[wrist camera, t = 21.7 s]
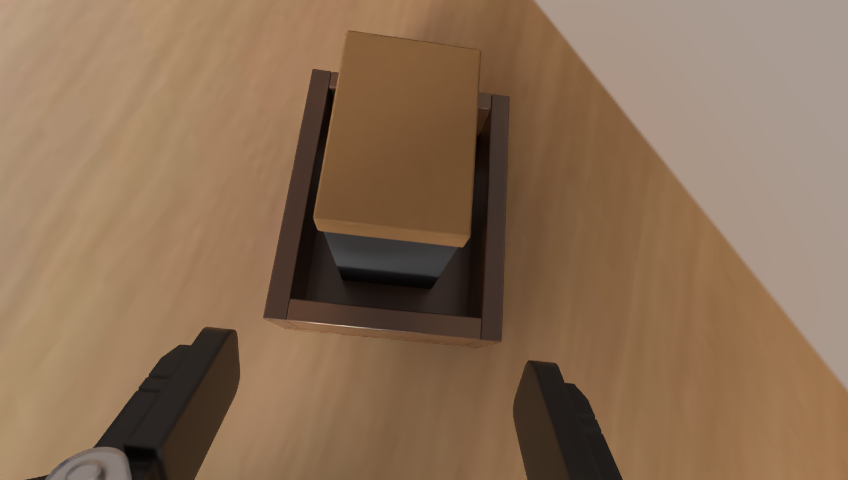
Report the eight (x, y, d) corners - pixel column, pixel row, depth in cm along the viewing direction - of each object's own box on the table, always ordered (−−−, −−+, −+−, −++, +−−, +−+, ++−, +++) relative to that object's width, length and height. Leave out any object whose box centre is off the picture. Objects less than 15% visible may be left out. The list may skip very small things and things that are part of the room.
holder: (489, 138, 22) (509, 95, 19) (480, 347, 19) (502, 342, 16) (322, 116, 22) (312, 68, 18) (283, 328, 19) (262, 318, 15)
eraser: (444, 166, 21) (482, 48, 13) (433, 292, 19) (471, 238, 12) (357, 155, 21) (346, 29, 13) (338, 282, 19) (312, 219, 11)
